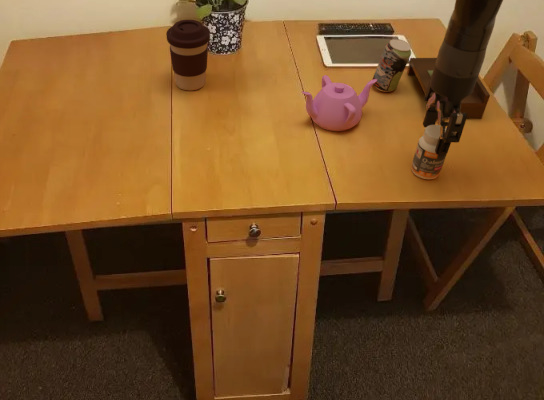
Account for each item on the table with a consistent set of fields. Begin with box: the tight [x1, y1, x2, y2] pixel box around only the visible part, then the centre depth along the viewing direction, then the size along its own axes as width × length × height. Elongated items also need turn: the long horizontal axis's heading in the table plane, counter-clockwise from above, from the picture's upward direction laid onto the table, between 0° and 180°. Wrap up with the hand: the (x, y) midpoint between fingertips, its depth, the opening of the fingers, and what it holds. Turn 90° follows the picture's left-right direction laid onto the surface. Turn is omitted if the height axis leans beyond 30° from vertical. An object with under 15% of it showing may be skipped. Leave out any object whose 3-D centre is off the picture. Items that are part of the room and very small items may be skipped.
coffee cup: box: [165, 19, 211, 91], centre depth 137 cm, size 10×10×15 cm
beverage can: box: [371, 38, 412, 93], centre depth 136 cm, size 6×7×12 cm
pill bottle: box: [410, 124, 448, 180], centre depth 114 cm, size 6×6×10 cm
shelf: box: [406, 57, 491, 120], centre depth 136 cm, size 20×12×6 cm, turn 1°
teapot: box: [301, 74, 377, 132], centre depth 128 cm, size 12×14×9 cm
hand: (434, 139), depth 112 cm, fingers open, 8 cm apart
